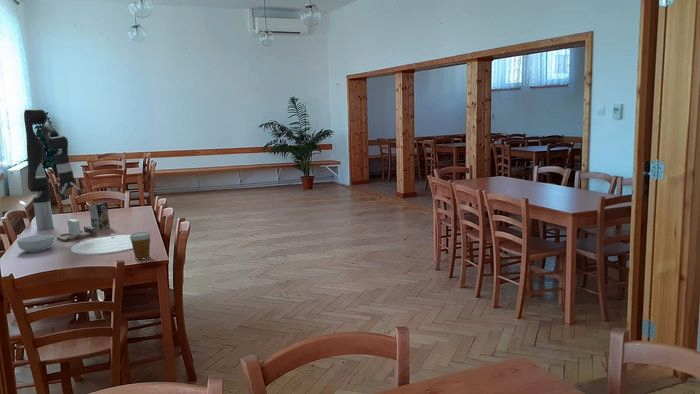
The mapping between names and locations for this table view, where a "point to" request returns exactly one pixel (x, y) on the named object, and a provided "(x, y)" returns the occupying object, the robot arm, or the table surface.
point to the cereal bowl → (36, 243)
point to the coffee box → (99, 216)
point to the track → (87, 233)
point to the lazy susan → (103, 245)
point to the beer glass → (141, 244)
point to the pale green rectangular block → (73, 227)
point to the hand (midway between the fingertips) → (71, 198)
